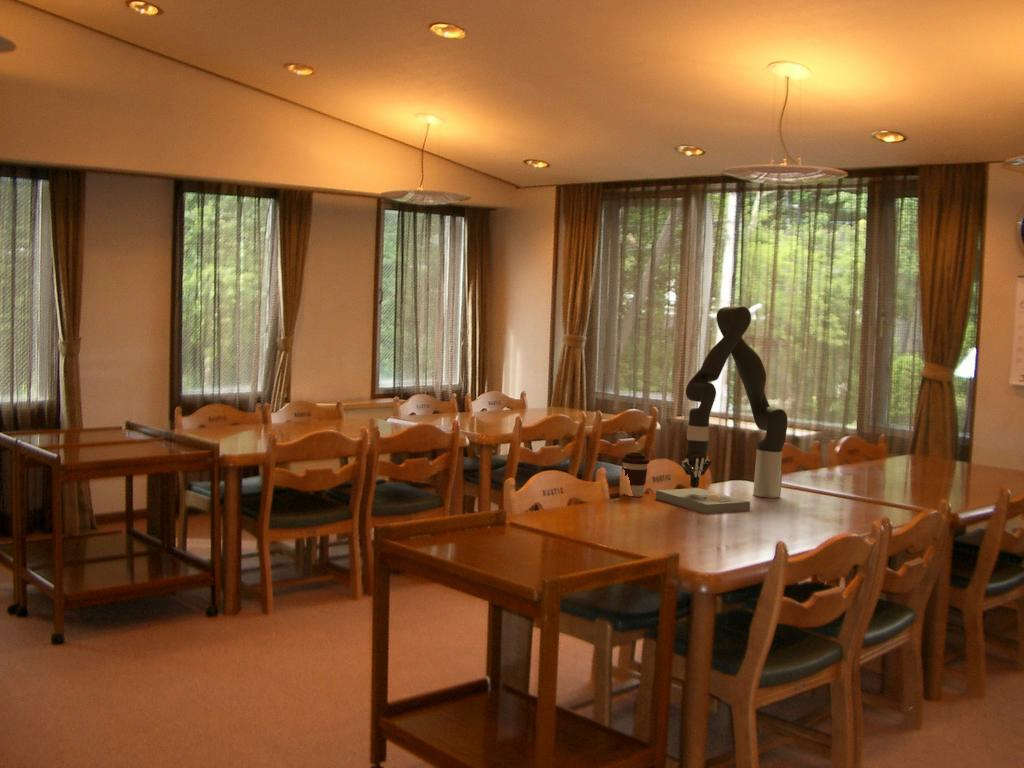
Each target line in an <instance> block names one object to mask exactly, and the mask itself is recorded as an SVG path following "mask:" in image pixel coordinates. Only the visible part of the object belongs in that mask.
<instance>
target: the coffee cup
mask: <svg viewBox="0 0 1024 768" xmlns="http://www.w3.org/2000/svg"><path fill="white" fill-rule="evenodd" d="M620 459H621V460H620V461H621V462H622V467H621V468H622V469H621V471H622V470H623V469H624V470H625V476H626V475H627V474H628V477H629V480H630V487H631V490H632V494H633V496H635V498H640V497H642V496H644V491H645V485H646V482H647V473H648V465H649V464H650V459H649V458H648V457H647V456H646V454H645V453H642V452H626V453H625V455H624V456H621V458H620ZM624 467H626V468H624Z"/></svg>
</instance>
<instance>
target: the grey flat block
mask: <svg viewBox="0 0 1024 768" xmlns="http://www.w3.org/2000/svg"><path fill="white" fill-rule="evenodd" d="M655 491H656V492H655V500H658V501H662V502H666V503H668V504H671V505H675V506H679V507H683V508H685V509H686V508H687V509H689V510H693V511H696V512H700V513H703V514H716V513H717V514H719V513H730V512H731V513H732V512H734V513H735V512H747V511H750V509H751V501H748V500H745V499H742V498H737V497H735V496H734V497H733V496H730V495H726V494H724V493H723V494H722V493H719V492H715V491H711V490H707V489H703V488H700V487H698V488H680V489H679V488H678V489H677V488H676V489H658V490H655ZM711 493H715V494H718V495H719V496H720V498H721V500H720V501H714V500H707V499H706V498H707V496H708V495H709V494H711Z"/></svg>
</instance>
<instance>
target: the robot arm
mask: <svg viewBox="0 0 1024 768" xmlns="http://www.w3.org/2000/svg"><path fill="white" fill-rule="evenodd" d="M751 321H752V314H751V312H750V309H749V308H748V307H746V306H745V305H731V306H723V307H720V308H719V309H718V310H717V313H716V323H717V324H716V325H717V327H718V329H719V331H720V333H721V335H722V338H721V339H720V340H719V341H718V342H717V343H716V344H715V345H714V346H713V347H712V348H711V349H710V351H708V353H707V354H706V356H705V358H704V360H703V362H702V364H701V367H700V369H699V370H698V371H697V372H696V373H695V375H694V376H693V377H692V378H691V379H690V380H689V382H688V383H687V385H686V387H685V388H686V389H685V396H686V398H687V399H688V400H690V401H691V402H700V404H699V407H696V408H691V409H690V410H689V411H688V412H689V413H688V414H689V415H688V425H687V431H686V432H687V433H686V443H685V444H686V446H685V447H686V448H685V451H686V456H685V459H684V460H681V461H680V465H681V467H682V469H683V470H684V472H685V475H687V476H690V480H689V481H690V482H689V485H690V487H691V488H692V489H694V488H699V484H700V478H701V476H704V475H705V473H706V472H707V471H708V470H709V468H710V466H711V464H712V461H711V460H709V459H708V458H707V457H708V456H707V453H708V451H709V440H710V437H709V436H710V429H709V426H710V415H711V412H712V409H713V406H714V402H715V400H716V396H717V388H716V386H715V385H714V383H712V382H715V381H717V380H718V379H719V377H720V375H721V373H722V371H723V369H724V367H725V364H726V362H727V360H728V358H729V357H730V355H731V356H732V359H733V361H734V364H735V367H736V370H737V373H738V375H739V378H740V380H741V382H742V384H743V387H744V390H745V394H746V397H747V399H748V401H749V405H750V409H751V412H752V417H753V420H754V422H755V423H754V424H755V425H756V427H757V428H758V429H759V430H761V431H763V432H766V433H765V437H764V438H763V439H762V440H758V442H757V443H756V444H757V445H756V455H755V468H754V479H753V480H754V482H753V492H752V495H753V496H755V497H760V498H766V499H767V498H769V499H777V498H780V497H781V495H782V482H783V481H782V480H783V471H782V469H781V467H782V458H783V448H784V446H785V444H786V440H787V439H786V438H787V430H788V423H789V421H788V415H787V412H786V411H785V410H784V409H783V408H778V407H772V406H770V403H769V401H768V398H767V396H766V392H765V388H766V384H767V372H766V369H765V367H764V364H763V362H762V359H761V357H760V356H759V354H758V353H757V352H756V351H755V350H754V349H753V348H752V347H751V346H750V345H749V344H748V343H747V342H746V341H745V340H744V339H743V336H744V335H745V333H746V332H747V330H748V329H749V326H750V324H751Z"/></svg>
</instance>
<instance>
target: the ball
mask: <svg viewBox="0 0 1024 768" xmlns="http://www.w3.org/2000/svg"><path fill="white" fill-rule="evenodd" d="M715 493H716V492H715ZM715 493H711V494H709V495H708V496H707V498H706V499H707V500H714V501H720V500H721V498H720V496H719V495H718V494H715Z"/></svg>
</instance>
